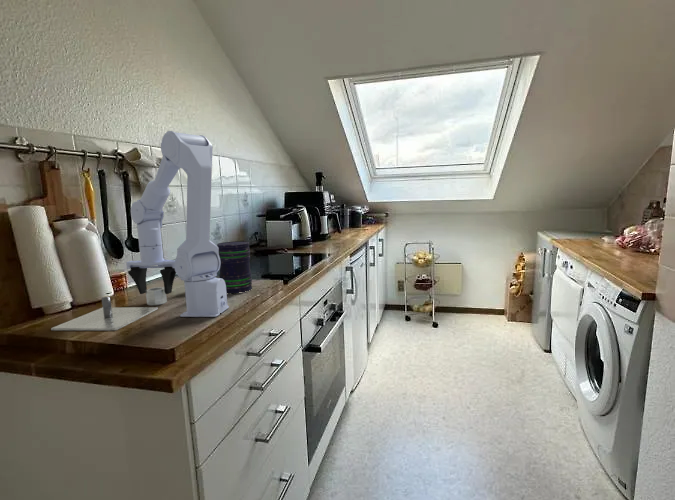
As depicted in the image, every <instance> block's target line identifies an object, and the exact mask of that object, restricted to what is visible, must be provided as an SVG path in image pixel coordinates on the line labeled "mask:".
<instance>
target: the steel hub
mask: <svg viewBox="0 0 675 500" xmlns="http://www.w3.org/2000/svg"><path fill="white" fill-rule="evenodd" d="M145 291H146V293H145V297H146V305H148V306H159V305H160V306H161V305H164V304H166V303H168V299H167V298H168V297H167V294H165V290H164V286H157V287H156V286H155V287H149V288H147V290H145Z"/></svg>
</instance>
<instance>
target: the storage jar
mask: <svg viewBox="0 0 675 500" xmlns="http://www.w3.org/2000/svg"><path fill="white" fill-rule="evenodd" d="M216 246H218V248H219V257H220V261H221V265H220V269H219V277H218V278H222V279H224V281H225V284H226V292H227V293H239V292H245V291H248V292H250V291H249V290H251V289H252V290H253V286H252V284H253V278H252V271H251V263H250V260H251V250H250V241H246V240H239V241H238V240H237V241H236V240H235V241H226V242H219V243H216ZM252 290H251V291H252ZM245 293H246V292H245ZM239 294H240V293H239Z"/></svg>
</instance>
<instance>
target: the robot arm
mask: <svg viewBox="0 0 675 500" xmlns="http://www.w3.org/2000/svg"><path fill="white" fill-rule="evenodd" d="M213 147H214V146H213V144H212V143H211V142H210V140H209V139H208V138H207V136H206V135H203V134H199V135H198V134H192V133H191V134H190V133H183V132H177V131H173V130H168V131H166V132H165V133H164V134H163V136H162V139H161V143H160V151H161V155H162V157H161V161H160V163H159V167H158V169H157V172H156V175H155V178H154V180H150V181H148V183H147V184H146V186H145V188H144V191H143V192H142V194H141V197H140V198H139V199H137V200H136V201H134V202H132V204H131V206H130V217H131V219H132V221H133V222H134V223H135V224H136V229H137V239H138V249H139V256H140V260H129V261H126V262H125V263H126V269H127V270H128V271H127V274H128V275H129V276H130V278H131V279H132V280H133V282H134V283H135V286H136V287H137V290H138V292H139V294H140V295H143V294H146V291H145V290H147V289H148V288H147V272H148V269H160V270H159V272H160V275H161V278H162V281H163V287H164V290H165V294H166V295H168V294H171V293H172V290H173V285H174V281H175V277H176V276H177V277H179V279H180V280H181V281H183V283H184V292H185V302H186V303H185V304H186V311H184V312H182V313H181V314H179V316H180V318H181V317H183V318H184V317H185V318H190V317H191V318H205V317H206V318H209V317H210V318H217V317H218V316H219V315H221V314H222V313H224V312H225V311H226V310H227V309H229V307H230V306H229V305H228V296H227V295H228V294H227V292H226V284H225V281H224V279H222V278H220V277H217V276H218V274H217V273H218V272H220V265H221V261H220V257H219V248H218V246H217V244H215V243H214V242H213V241H211V239H210V237H211V204H212V179H213V178H212V175H213V173H212V171H213ZM180 169H182V170H183V171H184V173H185V174H186V175H187V178H186V180H187V181H186V185H187V186H186V228H185V229H186V230H185V231H186V232H185V233H186V234H185V240H184V241H183V242H182V243H181V244H180V245H179V246H178V247H177V251H176V257H175V259H165V258H164V250H163V248H164V247H163V240H162V230H161V229H162V228H163V220H164V216H165V215H164V214H165V213H164V211H163V208H164V206H165V205H166V202H167V200H168V199H169V197H170V195H171V189H170V187H169V186H170V185H171V183H172V181H173V179H174V178H175V176H176V175H177V173H178V172H179V170H180ZM129 269H130V270H129ZM220 313H221V314H220Z"/></svg>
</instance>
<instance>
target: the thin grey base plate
mask: <svg viewBox="0 0 675 500" xmlns="http://www.w3.org/2000/svg"><path fill="white" fill-rule="evenodd" d="M101 305H102V307H100V308H97V309H95V310H93V311H91V312H88V313H86V314H83V315H81V316H78V317H75V318H73V319H71V320H68V321H65V322H63V323H60V324H58V325H55V326H53V327H51V328H50V330H51V331H91V332H92V331H93V332H95V331H102V332H103V331H106V332H107V331H110V332H111V331H114V332H116V331H118V330H120V329H122V328H124V327H126V326H128V325H130V324H131V323H134V322H136V321H138V320H140V319H141V318H143V317H145V316H147V315H149V314H151V313H153V312H156V311H157V310H158V306H157V307H154V306H151V307H148V306H147V307H146V306H145V307H142V306H141V307H140V306H139V307H138V306H137V307H112V301H111V296H102V297H101Z"/></svg>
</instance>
